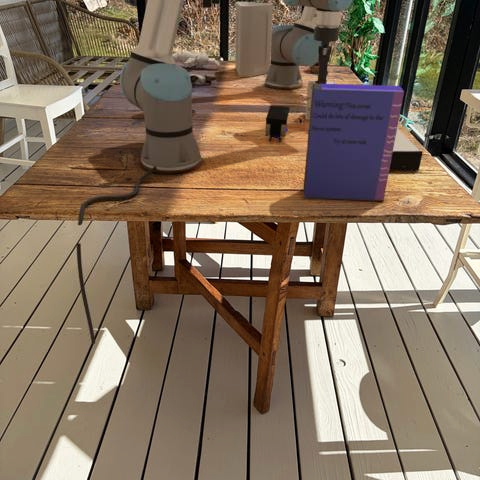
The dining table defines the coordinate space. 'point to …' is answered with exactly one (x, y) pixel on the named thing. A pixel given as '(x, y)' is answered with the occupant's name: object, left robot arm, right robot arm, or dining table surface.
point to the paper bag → (253, 38)
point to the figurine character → (276, 122)
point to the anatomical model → (315, 67)
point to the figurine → (202, 79)
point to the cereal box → (351, 141)
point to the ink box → (309, 96)
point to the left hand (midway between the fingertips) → (319, 99)
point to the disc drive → (405, 154)
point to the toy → (193, 59)
